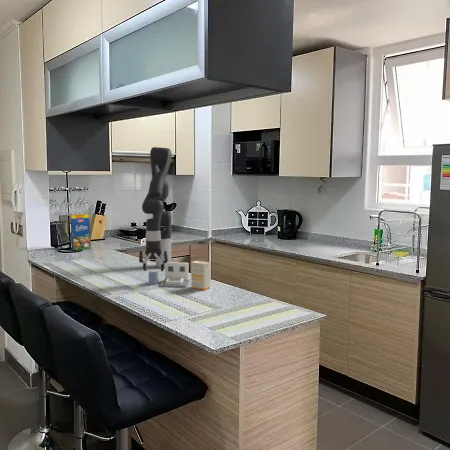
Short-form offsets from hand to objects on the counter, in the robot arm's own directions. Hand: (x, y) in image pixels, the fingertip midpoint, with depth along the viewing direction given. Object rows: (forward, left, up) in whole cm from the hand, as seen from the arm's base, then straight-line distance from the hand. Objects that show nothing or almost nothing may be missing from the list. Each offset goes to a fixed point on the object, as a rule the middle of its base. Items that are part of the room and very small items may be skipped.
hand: (153, 270), depth 233 cm
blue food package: (-93, -74, -7) cm, 119 cm away
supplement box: (+7, +25, -7) cm, 27 cm away
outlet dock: (0, +11, -7) cm, 13 cm away
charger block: (0, 0, -7) cm, 7 cm away
